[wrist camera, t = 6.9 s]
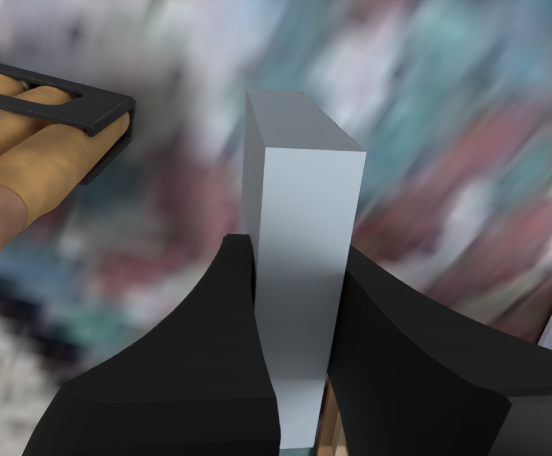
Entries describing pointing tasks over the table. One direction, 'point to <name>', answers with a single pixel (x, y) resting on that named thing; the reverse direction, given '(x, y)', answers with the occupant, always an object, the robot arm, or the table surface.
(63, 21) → the table surface
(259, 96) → the block
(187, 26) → the table surface
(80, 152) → the ammunition clip
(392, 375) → the robot arm
